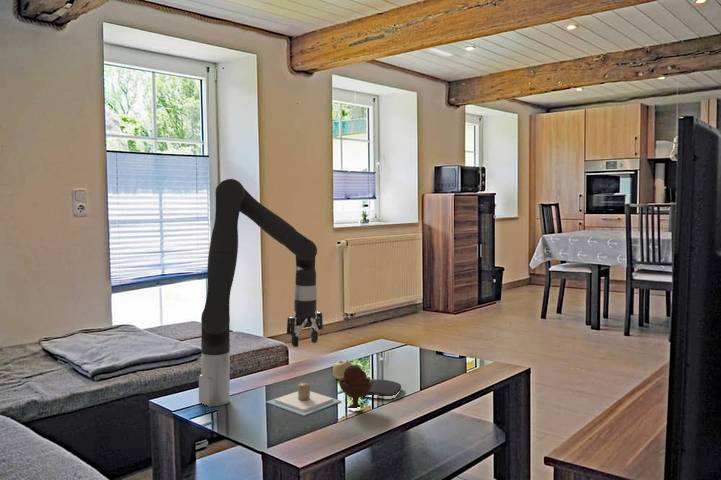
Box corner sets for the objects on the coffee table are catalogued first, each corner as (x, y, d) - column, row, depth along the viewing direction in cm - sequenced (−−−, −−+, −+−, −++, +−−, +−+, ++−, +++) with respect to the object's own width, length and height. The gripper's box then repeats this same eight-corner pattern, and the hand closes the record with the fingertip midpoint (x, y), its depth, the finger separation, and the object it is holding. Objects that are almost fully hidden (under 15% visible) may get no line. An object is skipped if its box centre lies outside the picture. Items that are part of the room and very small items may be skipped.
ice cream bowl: (372, 415, 196) (373, 369, 194) (337, 414, 196) (338, 369, 195) (372, 404, 206) (373, 360, 205) (339, 403, 206) (340, 359, 205)
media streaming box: (403, 389, 224) (403, 381, 224) (394, 401, 210) (394, 393, 210) (364, 384, 228) (364, 377, 227) (353, 397, 214) (353, 388, 213)
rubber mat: (303, 416, 194) (303, 415, 194) (266, 402, 205) (266, 401, 205) (341, 402, 208) (341, 400, 208) (304, 390, 219) (304, 389, 219)
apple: (358, 377, 234) (354, 363, 230) (340, 388, 231) (336, 374, 227) (349, 366, 240) (345, 352, 236) (331, 376, 237) (327, 362, 233)
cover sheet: (303, 411, 197) (304, 394, 196) (274, 401, 206) (274, 384, 205) (333, 400, 207) (333, 384, 207) (303, 391, 216) (304, 375, 216)
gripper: (296, 301, 199) (296, 350, 201) (328, 297, 210) (327, 343, 211) (282, 298, 205) (281, 346, 206) (313, 294, 215) (312, 339, 216)
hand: (304, 344), depth 208 cm, fingers open, 8 cm apart
